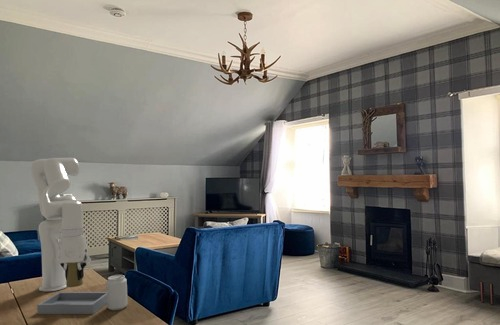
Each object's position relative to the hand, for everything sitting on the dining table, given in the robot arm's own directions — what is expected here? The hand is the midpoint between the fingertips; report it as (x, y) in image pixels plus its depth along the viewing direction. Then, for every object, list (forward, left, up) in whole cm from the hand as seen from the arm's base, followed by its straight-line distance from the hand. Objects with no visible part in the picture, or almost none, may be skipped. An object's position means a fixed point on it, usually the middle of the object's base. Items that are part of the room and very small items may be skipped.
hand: (74, 278), depth 150 cm
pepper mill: (0, 0, -2) cm, 2 cm away
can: (+15, +9, -11) cm, 21 cm away
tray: (0, 0, -11) cm, 11 cm away
